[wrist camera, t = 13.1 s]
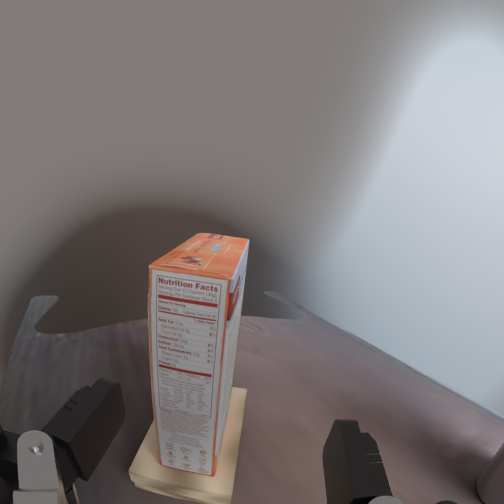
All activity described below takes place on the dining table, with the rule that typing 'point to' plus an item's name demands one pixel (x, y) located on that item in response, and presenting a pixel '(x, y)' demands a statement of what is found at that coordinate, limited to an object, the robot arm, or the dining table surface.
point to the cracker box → (194, 346)
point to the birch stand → (187, 483)
